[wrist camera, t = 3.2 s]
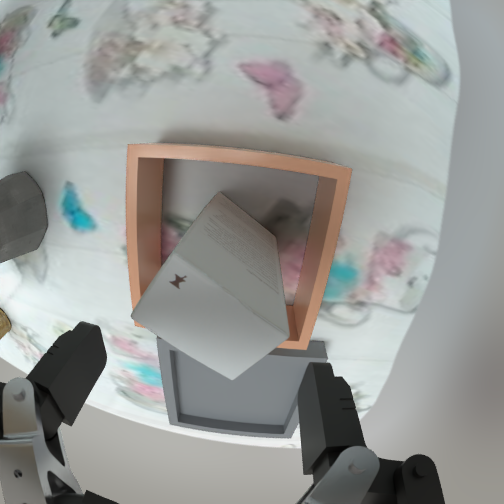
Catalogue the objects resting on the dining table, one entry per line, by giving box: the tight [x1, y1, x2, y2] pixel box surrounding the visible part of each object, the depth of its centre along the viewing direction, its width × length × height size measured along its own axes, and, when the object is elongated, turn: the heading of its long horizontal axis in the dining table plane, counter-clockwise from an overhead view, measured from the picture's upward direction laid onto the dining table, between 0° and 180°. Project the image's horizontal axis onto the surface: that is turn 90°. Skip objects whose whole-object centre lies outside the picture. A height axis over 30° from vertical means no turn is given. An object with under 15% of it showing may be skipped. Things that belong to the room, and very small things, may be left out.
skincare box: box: [131, 192, 290, 380], centre depth 17 cm, size 6×4×12 cm
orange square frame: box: [126, 143, 352, 350], centre depth 20 cm, size 14×14×5 cm
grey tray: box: [156, 336, 328, 438], centre depth 28 cm, size 16×16×2 cm
